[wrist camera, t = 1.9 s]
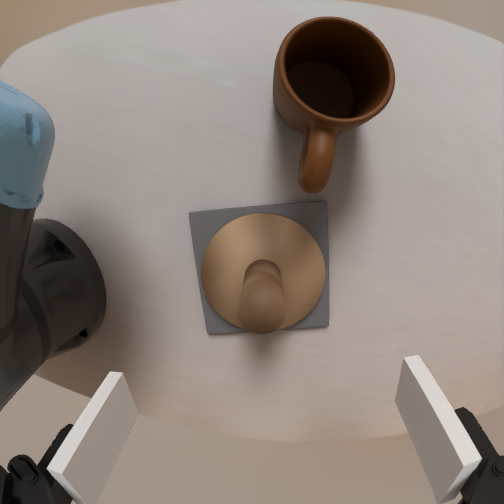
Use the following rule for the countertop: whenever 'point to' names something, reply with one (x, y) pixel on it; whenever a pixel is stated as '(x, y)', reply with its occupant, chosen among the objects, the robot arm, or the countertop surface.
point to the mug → (329, 87)
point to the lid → (263, 272)
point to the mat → (302, 213)
